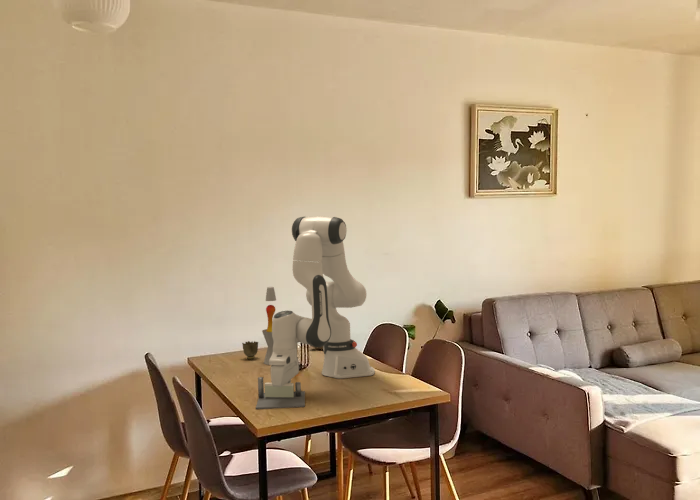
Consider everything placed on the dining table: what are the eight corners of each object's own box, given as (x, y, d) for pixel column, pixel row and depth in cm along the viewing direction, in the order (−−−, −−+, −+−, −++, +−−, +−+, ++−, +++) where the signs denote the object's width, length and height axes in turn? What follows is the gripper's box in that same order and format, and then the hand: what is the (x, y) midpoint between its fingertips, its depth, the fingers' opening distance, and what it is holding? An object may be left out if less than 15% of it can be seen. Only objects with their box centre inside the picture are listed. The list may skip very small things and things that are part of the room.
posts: (301, 396, 231) (300, 375, 230) (301, 398, 229) (300, 376, 228) (258, 398, 230) (258, 377, 229) (258, 400, 228) (257, 378, 227)
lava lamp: (274, 365, 281) (271, 288, 279) (259, 363, 285) (256, 287, 283) (286, 361, 288) (284, 286, 286) (271, 359, 293) (268, 285, 291)
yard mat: (304, 392, 236) (304, 391, 236) (304, 406, 218) (304, 405, 218) (259, 394, 235) (259, 393, 235) (255, 409, 217) (255, 407, 217)
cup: (250, 356, 300) (250, 340, 300) (262, 358, 296) (261, 341, 295) (239, 359, 294) (239, 343, 294) (250, 361, 290) (250, 344, 289)
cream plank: (264, 397, 228) (264, 383, 228) (265, 396, 229) (265, 382, 229) (293, 397, 226) (292, 383, 226) (293, 396, 228) (293, 383, 227)
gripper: (286, 349, 240) (288, 384, 241) (267, 361, 220) (268, 400, 221) (302, 349, 239) (303, 384, 240) (283, 362, 219) (285, 400, 220)
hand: (286, 392), depth 230 cm, fingers closed
